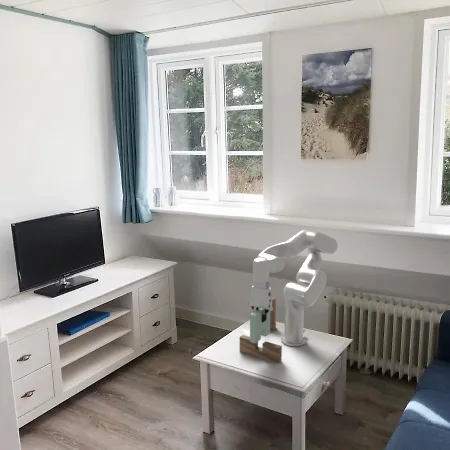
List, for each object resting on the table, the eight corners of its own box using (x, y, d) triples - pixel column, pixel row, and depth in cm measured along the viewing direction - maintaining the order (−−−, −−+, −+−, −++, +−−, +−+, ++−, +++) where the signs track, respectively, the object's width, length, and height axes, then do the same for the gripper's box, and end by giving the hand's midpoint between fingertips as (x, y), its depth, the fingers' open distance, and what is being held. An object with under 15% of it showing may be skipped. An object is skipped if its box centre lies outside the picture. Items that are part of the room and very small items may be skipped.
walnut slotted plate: (242, 349, 240) (242, 334, 238) (281, 361, 227) (281, 345, 226) (239, 351, 237) (239, 336, 236) (278, 363, 225) (278, 348, 223)
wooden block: (256, 326, 267) (256, 296, 263) (275, 327, 265) (276, 297, 261) (256, 329, 263) (256, 298, 260) (275, 330, 262) (276, 299, 258)
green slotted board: (264, 331, 237) (265, 304, 234) (270, 332, 235) (270, 306, 232) (250, 341, 225) (250, 314, 223) (255, 343, 224) (255, 315, 221)
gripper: (279, 285, 223) (279, 321, 227) (250, 279, 232) (250, 314, 236) (272, 289, 217) (271, 327, 221) (242, 283, 226) (242, 319, 230)
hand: (260, 320), depth 228 cm, fingers closed on green slotted board, 3 cm apart
